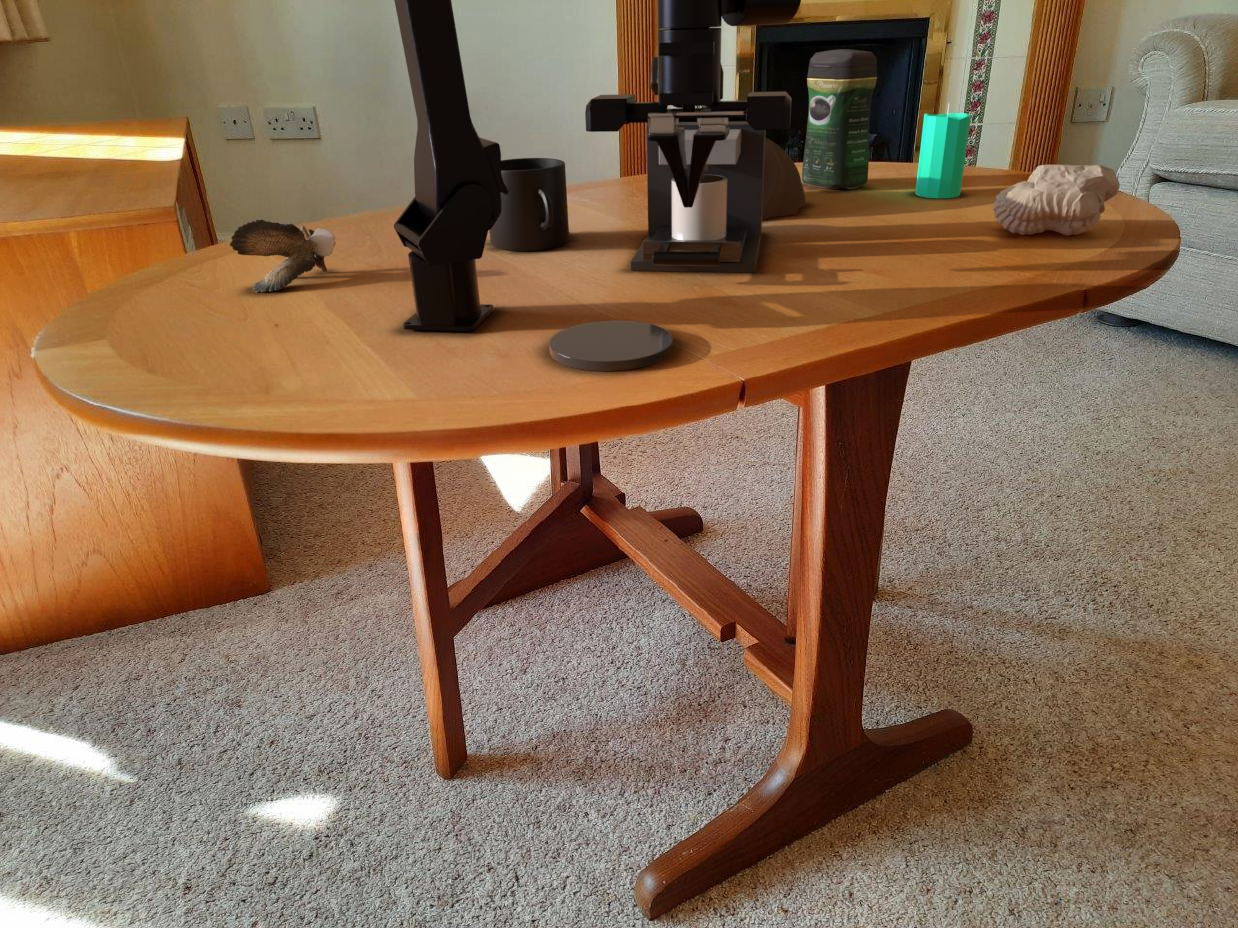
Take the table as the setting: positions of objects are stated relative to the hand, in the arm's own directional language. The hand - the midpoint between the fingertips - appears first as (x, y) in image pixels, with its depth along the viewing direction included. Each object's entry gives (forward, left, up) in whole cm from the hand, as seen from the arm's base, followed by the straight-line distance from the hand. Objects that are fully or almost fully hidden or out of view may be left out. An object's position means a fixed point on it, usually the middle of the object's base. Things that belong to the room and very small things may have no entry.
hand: (688, 206), depth 86 cm
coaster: (-21, +4, -7) cm, 23 cm away
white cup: (+10, 0, -5) cm, 11 cm away
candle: (+46, -30, -7) cm, 55 cm away
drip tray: (+6, 0, -6) cm, 8 cm away
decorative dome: (+37, -2, -7) cm, 38 cm away
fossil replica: (+22, -39, -7) cm, 45 cm away
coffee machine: (+12, 0, -7) cm, 14 cm away
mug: (+14, +20, -7) cm, 25 cm away
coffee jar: (+53, -16, -7) cm, 56 cm away
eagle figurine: (-3, +42, -7) cm, 43 cm away
